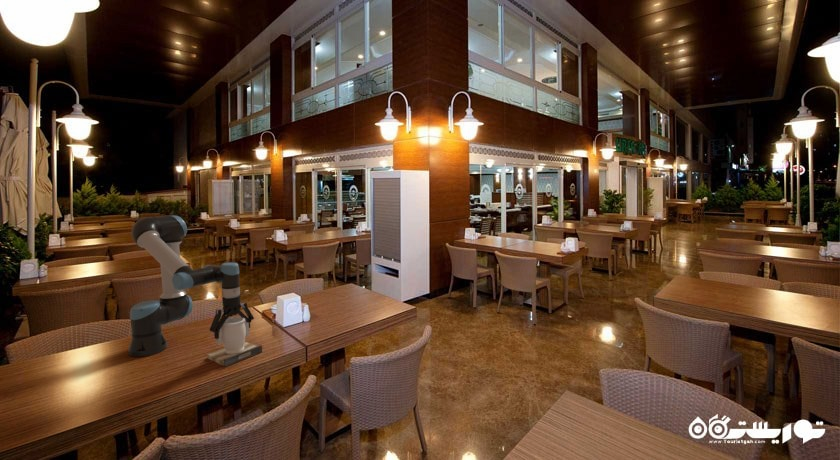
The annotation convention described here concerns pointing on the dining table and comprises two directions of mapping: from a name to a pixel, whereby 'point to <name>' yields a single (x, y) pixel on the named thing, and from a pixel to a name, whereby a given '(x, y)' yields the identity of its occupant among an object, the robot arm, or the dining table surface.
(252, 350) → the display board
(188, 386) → the dining table surface
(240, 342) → the jar
